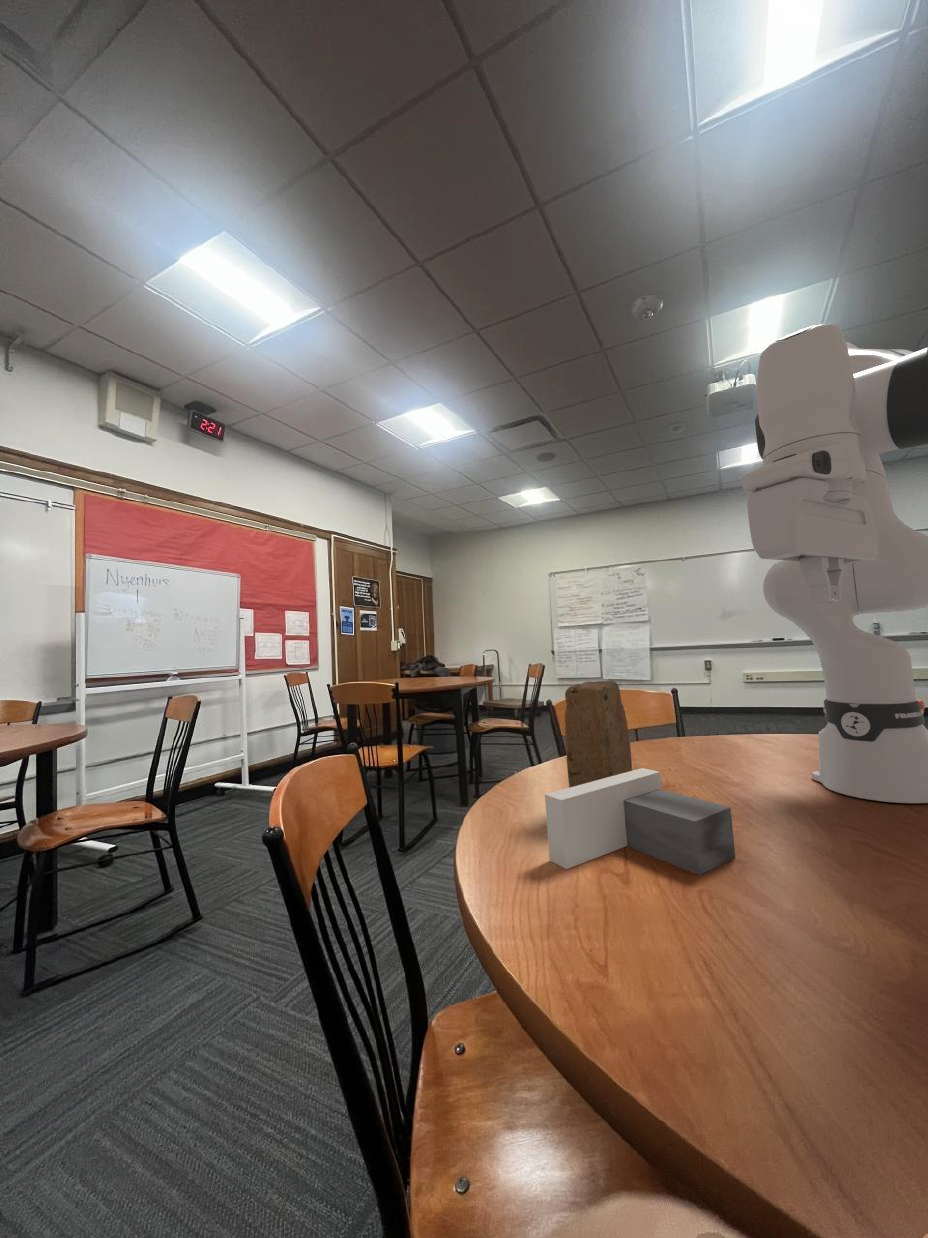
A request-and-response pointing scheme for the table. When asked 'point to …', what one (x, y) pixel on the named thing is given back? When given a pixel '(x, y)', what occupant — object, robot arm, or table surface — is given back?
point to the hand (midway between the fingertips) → (826, 602)
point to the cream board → (593, 816)
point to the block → (595, 732)
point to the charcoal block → (680, 830)
